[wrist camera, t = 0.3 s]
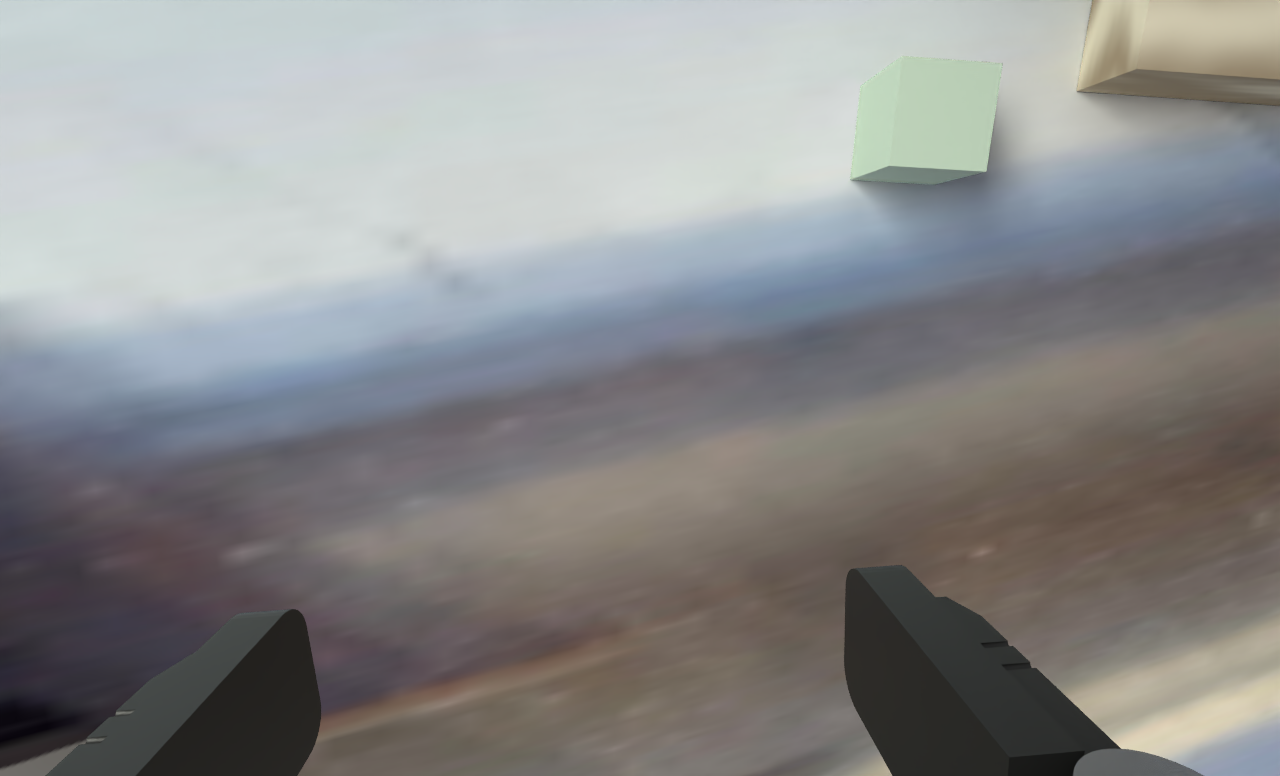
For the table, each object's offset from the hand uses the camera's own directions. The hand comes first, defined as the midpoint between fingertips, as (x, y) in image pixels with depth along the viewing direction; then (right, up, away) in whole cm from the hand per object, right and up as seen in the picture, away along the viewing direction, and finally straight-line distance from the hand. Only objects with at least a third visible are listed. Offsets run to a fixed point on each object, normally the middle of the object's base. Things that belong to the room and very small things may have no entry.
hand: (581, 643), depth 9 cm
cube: (+16, +18, +26) cm, 35 cm away
